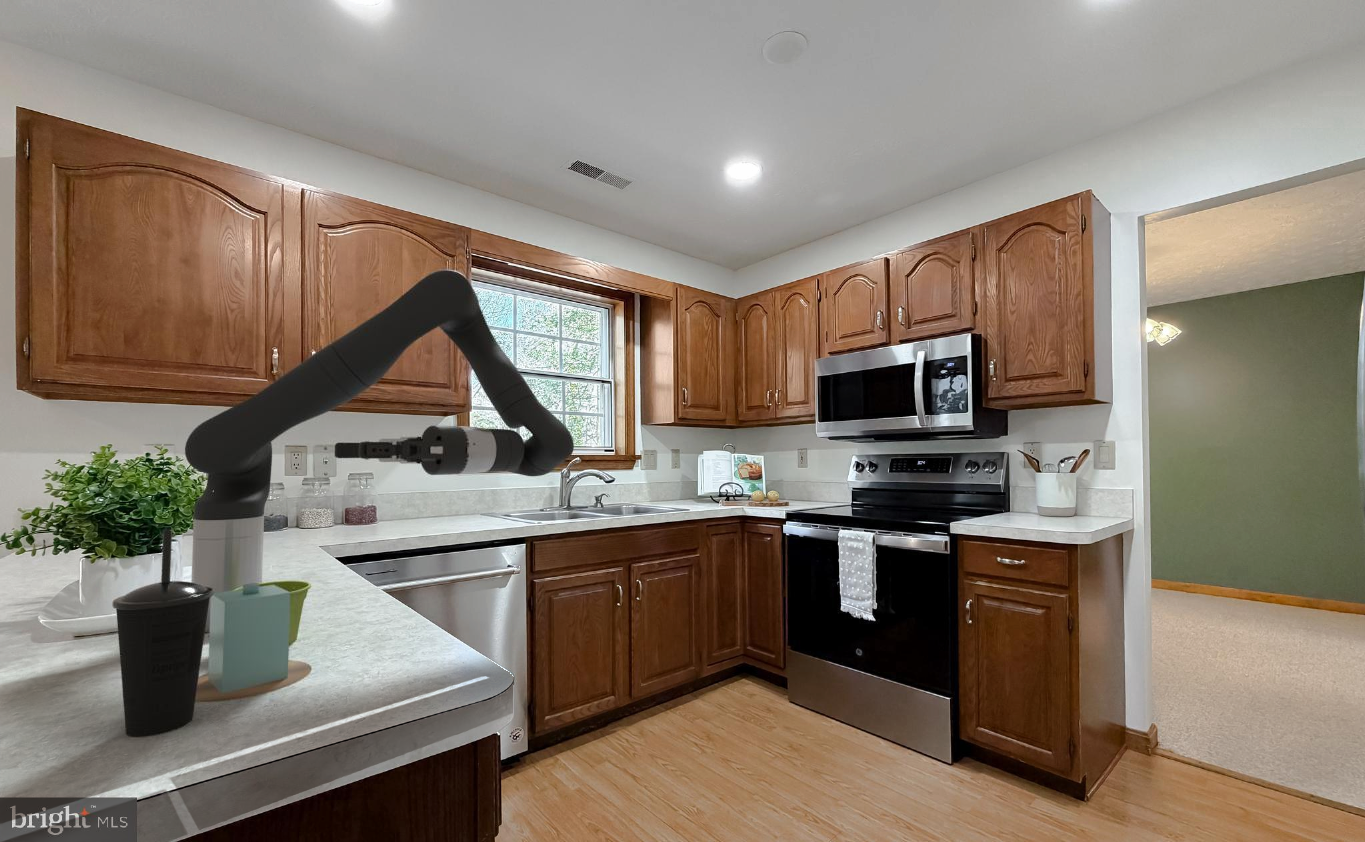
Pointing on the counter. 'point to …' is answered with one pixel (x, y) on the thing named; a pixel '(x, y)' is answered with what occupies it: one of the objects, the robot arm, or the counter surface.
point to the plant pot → (292, 602)
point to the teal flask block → (248, 637)
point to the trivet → (211, 694)
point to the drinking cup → (161, 650)
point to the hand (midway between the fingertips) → (347, 450)
